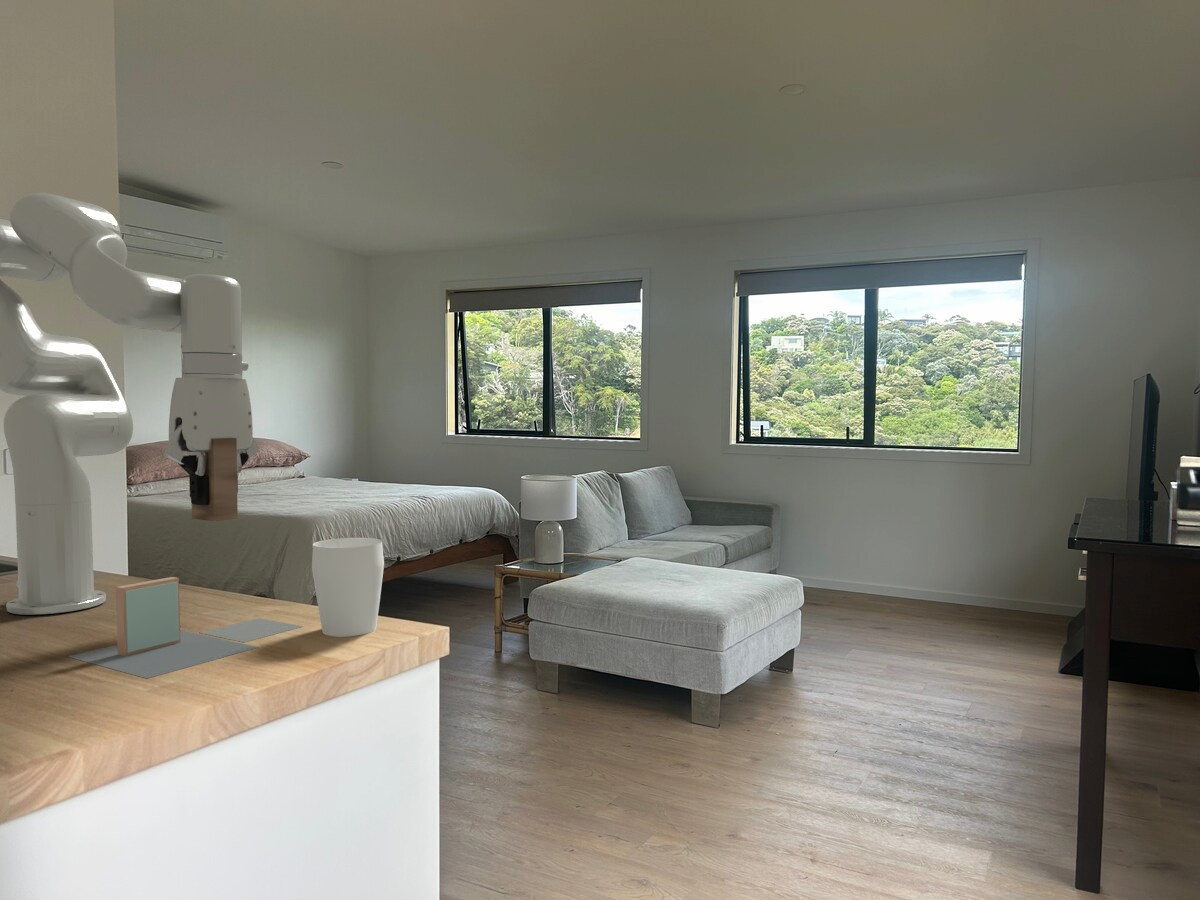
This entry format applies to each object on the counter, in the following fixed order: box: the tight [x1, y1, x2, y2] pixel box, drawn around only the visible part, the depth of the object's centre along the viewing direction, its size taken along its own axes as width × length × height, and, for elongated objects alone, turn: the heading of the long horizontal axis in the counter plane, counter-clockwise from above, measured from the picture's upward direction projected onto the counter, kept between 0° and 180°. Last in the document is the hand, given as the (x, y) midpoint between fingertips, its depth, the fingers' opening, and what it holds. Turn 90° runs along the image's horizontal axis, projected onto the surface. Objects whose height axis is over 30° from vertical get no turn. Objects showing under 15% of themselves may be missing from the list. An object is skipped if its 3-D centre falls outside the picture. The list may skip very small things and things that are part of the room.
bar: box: [191, 438, 239, 522], centre depth 119 cm, size 5×4×11 cm
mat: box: [67, 629, 260, 680], centre depth 103 cm, size 16×14×1 cm
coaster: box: [199, 617, 304, 644], centre depth 113 cm, size 9×9×1 cm
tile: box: [115, 576, 181, 656], centre depth 105 cm, size 2×7×8 cm, turn 149°
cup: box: [311, 537, 385, 638], centre depth 113 cm, size 9×9×12 cm
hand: (214, 501), depth 119 cm, fingers closed on bar, 3 cm apart
